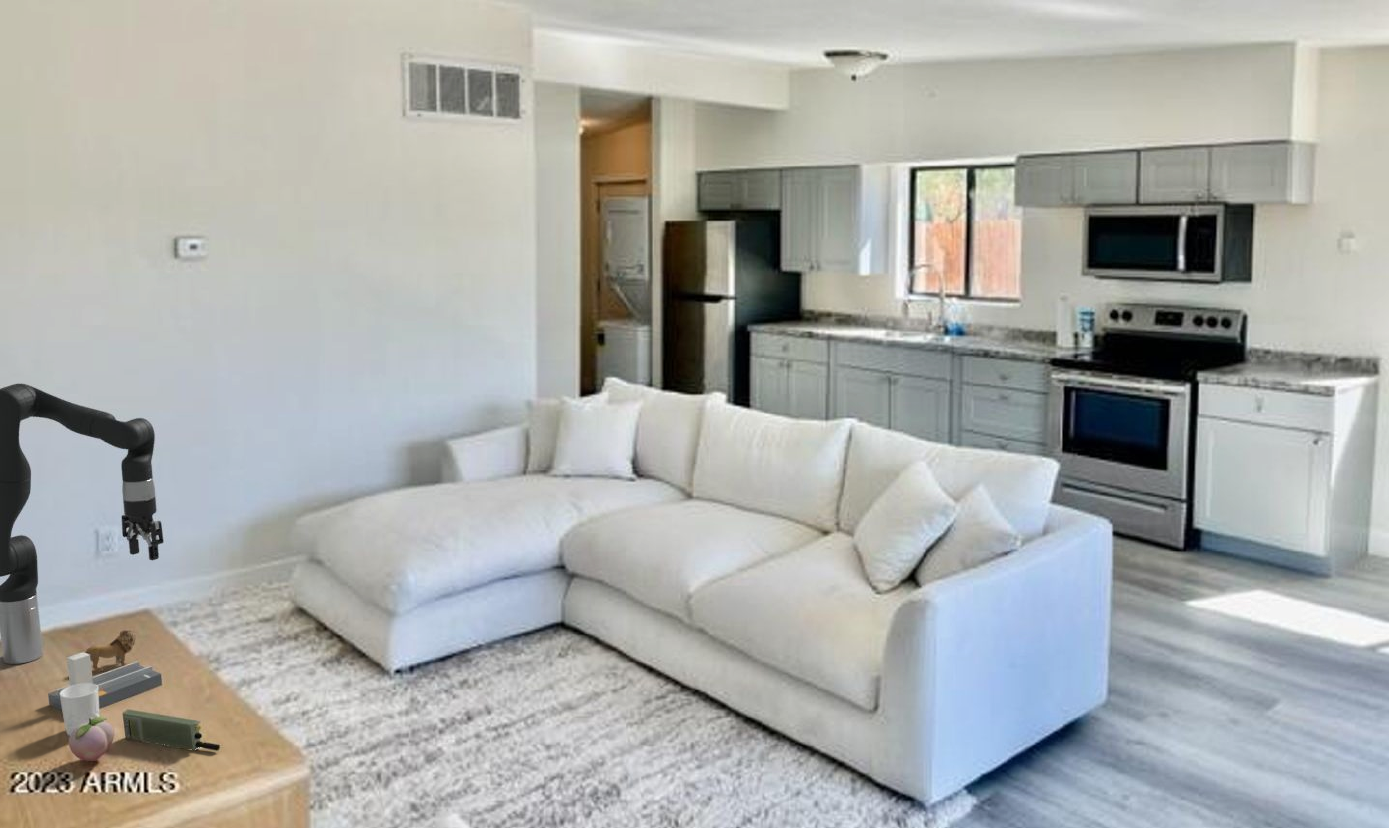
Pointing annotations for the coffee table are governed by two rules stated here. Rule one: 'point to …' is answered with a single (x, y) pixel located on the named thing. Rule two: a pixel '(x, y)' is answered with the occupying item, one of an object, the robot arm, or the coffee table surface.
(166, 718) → the handheld radio
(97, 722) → the decorative fruit
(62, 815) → the coffee table surface
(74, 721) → the white cup
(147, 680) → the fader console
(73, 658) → the fader knob
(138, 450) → the robot arm
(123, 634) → the lion figurine
